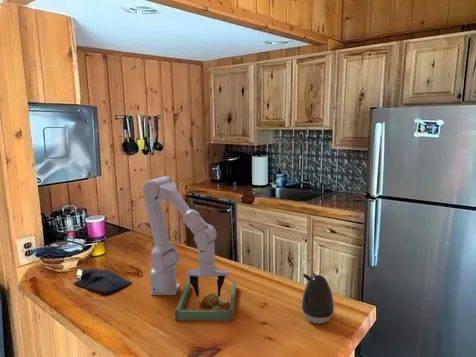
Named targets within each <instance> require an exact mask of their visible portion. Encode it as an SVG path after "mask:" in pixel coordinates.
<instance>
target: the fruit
mask: <svg viewBox="0 0 476 357" xmlns="http://www.w3.org/2000/svg"><path fill="white" fill-rule="evenodd" d="M228 304H229V302H228V301H227V300H226V301H225V300H219V297H218V295H216V294H215V293H208V294H206V295H205V296H204V297H203V298H202V305H203V306H204V307H205V308H207V309H210V310H221V306H227V305H228Z"/></svg>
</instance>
